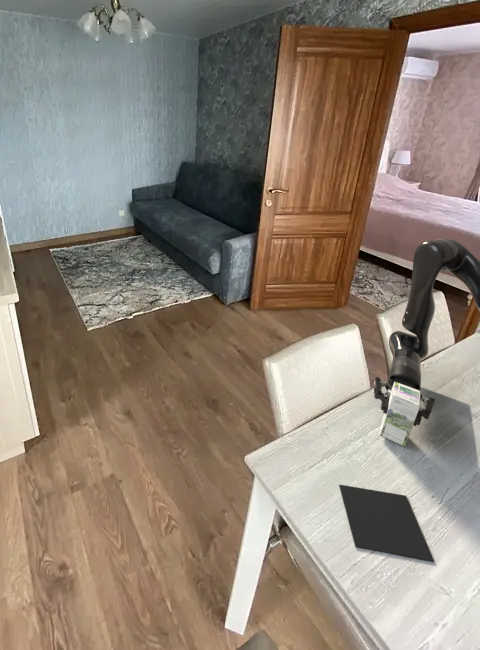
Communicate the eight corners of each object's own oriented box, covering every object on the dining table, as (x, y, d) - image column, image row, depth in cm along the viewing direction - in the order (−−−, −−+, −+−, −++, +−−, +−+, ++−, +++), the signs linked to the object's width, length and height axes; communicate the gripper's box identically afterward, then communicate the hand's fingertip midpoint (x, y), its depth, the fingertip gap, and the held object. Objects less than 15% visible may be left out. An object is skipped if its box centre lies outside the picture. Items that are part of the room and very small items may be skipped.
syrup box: (406, 431, 91) (421, 389, 85) (404, 448, 86) (420, 405, 81) (381, 420, 94) (394, 379, 88) (379, 436, 89) (392, 394, 84)
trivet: (405, 496, 76) (406, 495, 76) (433, 562, 65) (434, 561, 65) (339, 485, 78) (339, 484, 78) (355, 546, 67) (355, 546, 67)
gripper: (379, 355, 100) (370, 392, 87) (439, 376, 92) (440, 420, 80) (373, 375, 103) (364, 414, 90) (431, 397, 95) (431, 443, 82)
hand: (400, 416), depth 85 cm, fingers closed on syrup box, 5 cm apart
